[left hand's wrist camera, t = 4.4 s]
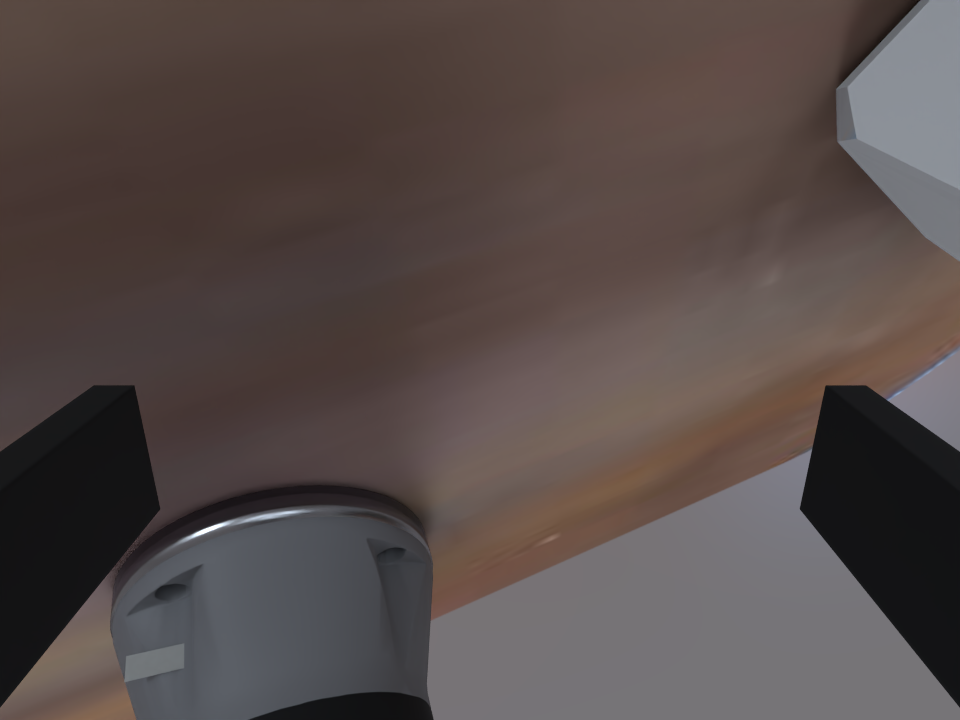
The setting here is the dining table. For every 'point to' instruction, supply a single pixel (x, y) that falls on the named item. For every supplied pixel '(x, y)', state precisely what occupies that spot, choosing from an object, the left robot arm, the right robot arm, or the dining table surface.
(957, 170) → the electronic device
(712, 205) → the dining table surface
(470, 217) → the dining table surface
